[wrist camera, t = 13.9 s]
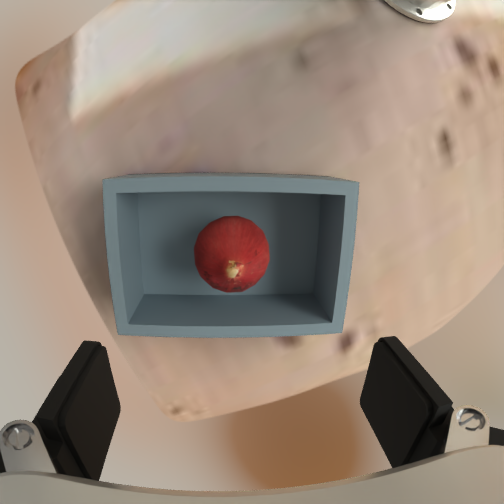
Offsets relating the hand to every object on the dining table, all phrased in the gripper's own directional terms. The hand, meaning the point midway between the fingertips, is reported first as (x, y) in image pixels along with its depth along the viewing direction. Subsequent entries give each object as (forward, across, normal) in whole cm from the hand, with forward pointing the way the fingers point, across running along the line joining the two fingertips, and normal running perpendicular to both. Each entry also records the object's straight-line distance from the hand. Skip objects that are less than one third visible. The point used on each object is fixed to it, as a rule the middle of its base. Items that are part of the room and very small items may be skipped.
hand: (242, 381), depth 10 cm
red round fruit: (+19, 0, 0) cm, 19 cm away
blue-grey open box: (+20, 0, 0) cm, 20 cm away
